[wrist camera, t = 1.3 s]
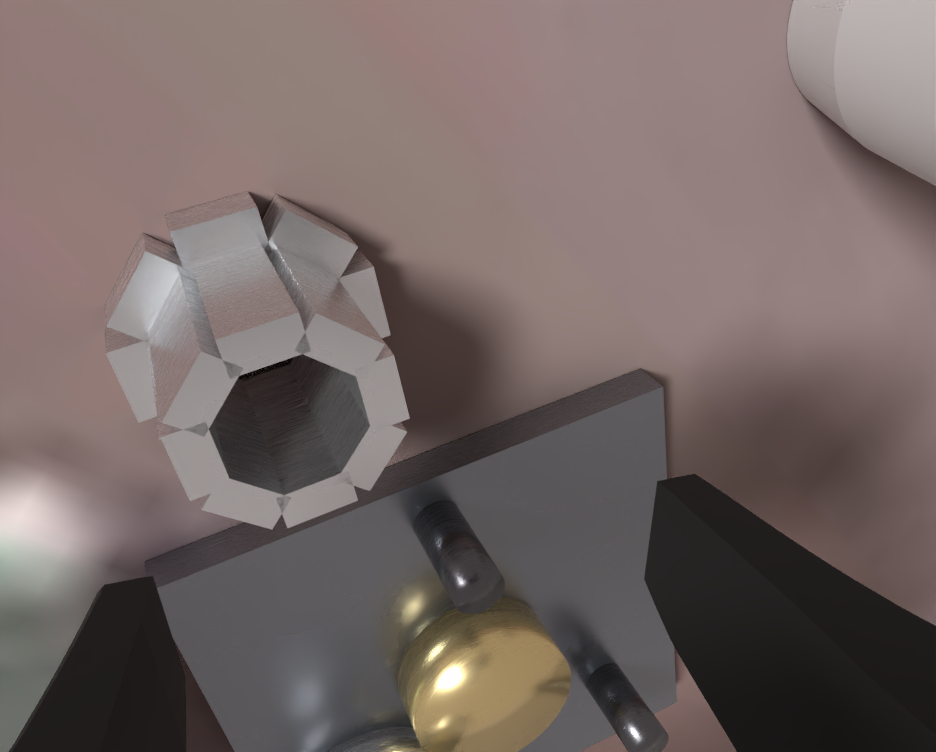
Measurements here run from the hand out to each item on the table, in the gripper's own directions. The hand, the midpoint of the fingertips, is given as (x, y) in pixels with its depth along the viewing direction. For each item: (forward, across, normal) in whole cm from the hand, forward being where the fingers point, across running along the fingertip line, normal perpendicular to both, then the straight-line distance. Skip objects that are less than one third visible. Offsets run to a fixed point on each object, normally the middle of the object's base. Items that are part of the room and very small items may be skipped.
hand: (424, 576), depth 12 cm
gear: (+10, +2, 0) cm, 10 cm away
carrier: (+10, -2, +13) cm, 16 cm away
